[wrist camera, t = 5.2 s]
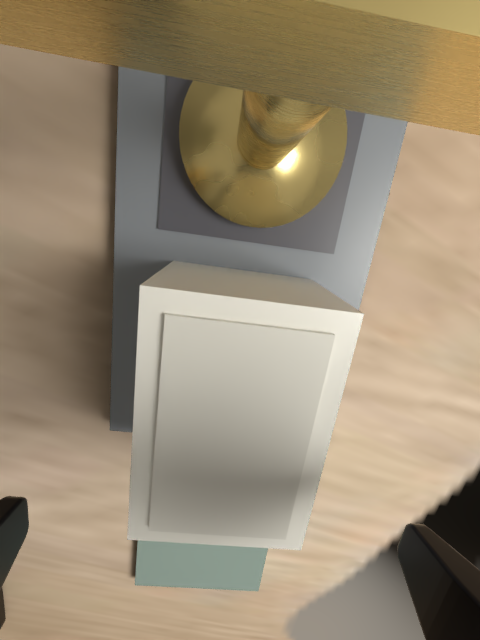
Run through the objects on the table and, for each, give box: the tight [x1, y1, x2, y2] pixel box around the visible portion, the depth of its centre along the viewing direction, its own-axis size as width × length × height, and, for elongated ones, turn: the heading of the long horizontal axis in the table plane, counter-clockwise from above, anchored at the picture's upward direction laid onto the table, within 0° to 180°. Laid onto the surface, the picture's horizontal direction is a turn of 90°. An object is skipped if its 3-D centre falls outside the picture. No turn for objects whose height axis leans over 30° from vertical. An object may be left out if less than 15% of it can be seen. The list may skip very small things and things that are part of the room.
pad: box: [135, 540, 268, 591], centre depth 16 cm, size 10×7×1 cm
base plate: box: [110, 67, 408, 432], centre depth 13 cm, size 16×10×1 cm, turn 172°
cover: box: [127, 261, 364, 550], centre depth 11 cm, size 8×6×5 cm
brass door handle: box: [0, 0, 480, 228], centre depth 7 cm, size 11×6×9 cm, turn 82°
